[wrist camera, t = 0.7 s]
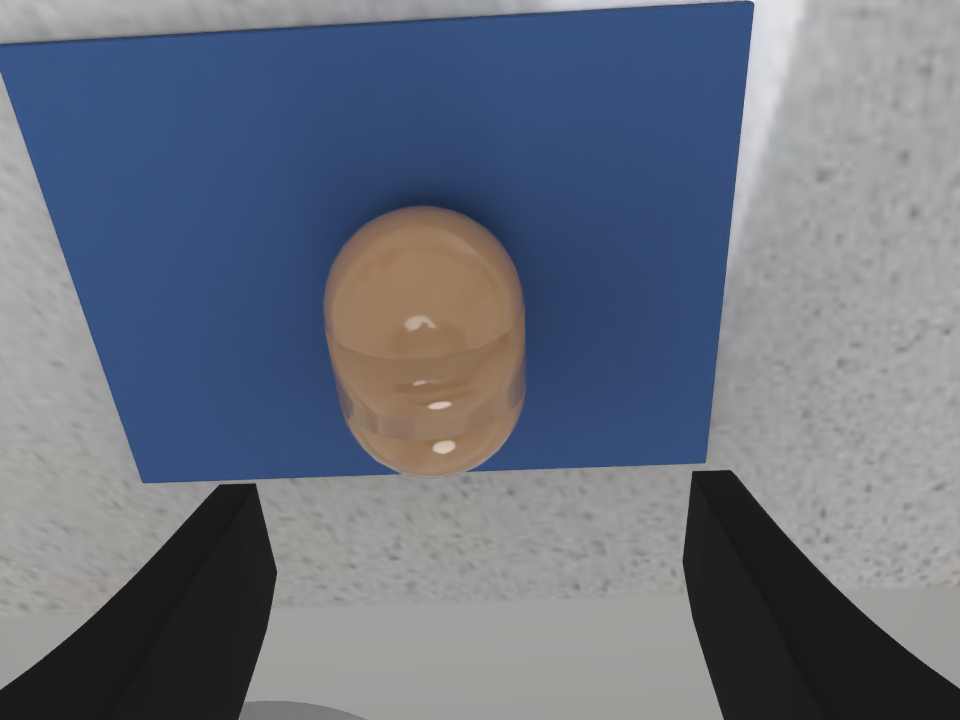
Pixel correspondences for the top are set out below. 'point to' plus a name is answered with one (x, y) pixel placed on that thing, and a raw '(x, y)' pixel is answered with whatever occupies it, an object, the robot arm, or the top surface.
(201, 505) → the robot arm
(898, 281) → the top surface
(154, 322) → the cloth
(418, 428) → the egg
